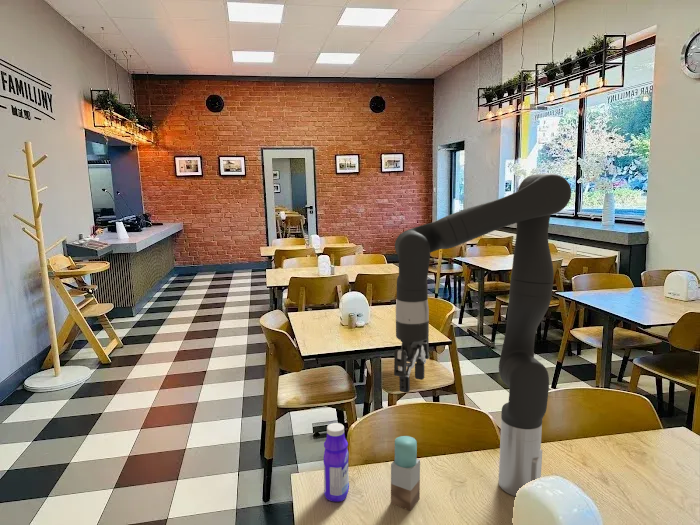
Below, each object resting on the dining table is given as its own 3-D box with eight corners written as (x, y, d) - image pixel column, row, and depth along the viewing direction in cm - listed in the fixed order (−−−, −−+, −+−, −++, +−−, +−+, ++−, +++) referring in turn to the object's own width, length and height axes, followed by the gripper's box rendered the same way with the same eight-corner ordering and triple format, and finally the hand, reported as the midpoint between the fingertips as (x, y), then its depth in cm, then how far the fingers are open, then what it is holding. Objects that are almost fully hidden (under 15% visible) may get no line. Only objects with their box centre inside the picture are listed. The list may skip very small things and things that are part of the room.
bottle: (345, 505, 111) (344, 435, 108) (321, 502, 112) (320, 433, 109) (351, 486, 118) (350, 420, 115) (328, 484, 119) (327, 418, 116)
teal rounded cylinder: (419, 459, 112) (420, 439, 111) (410, 470, 107) (411, 449, 107) (400, 453, 114) (400, 433, 113) (390, 463, 110) (390, 443, 109)
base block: (419, 499, 113) (419, 479, 112) (410, 511, 109) (410, 490, 108) (400, 492, 116) (400, 472, 115) (390, 503, 112) (390, 483, 111)
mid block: (419, 479, 112) (420, 459, 112) (410, 490, 108) (410, 470, 107) (400, 472, 115) (400, 453, 114) (390, 483, 111) (391, 463, 110)
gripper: (414, 328, 102) (414, 400, 105) (439, 312, 114) (438, 377, 117) (383, 323, 106) (384, 393, 109) (410, 309, 118) (410, 372, 121)
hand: (412, 384), depth 113 cm, fingers open, 8 cm apart
